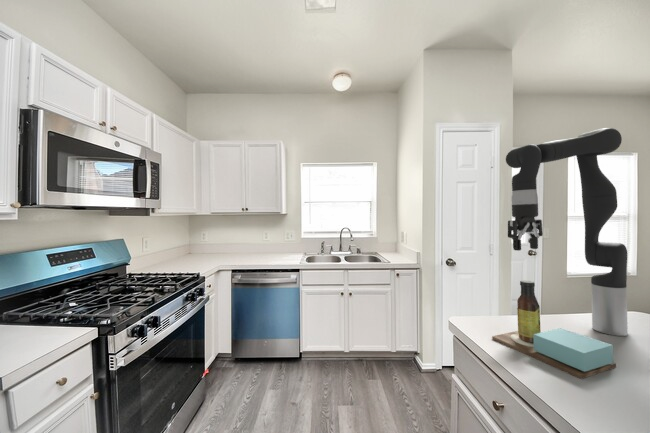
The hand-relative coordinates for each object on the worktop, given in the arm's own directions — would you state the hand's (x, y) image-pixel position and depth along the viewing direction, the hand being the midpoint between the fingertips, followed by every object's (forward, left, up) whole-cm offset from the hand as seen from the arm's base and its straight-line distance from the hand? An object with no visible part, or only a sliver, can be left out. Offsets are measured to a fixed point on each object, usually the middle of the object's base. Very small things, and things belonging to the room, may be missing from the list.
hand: (525, 249), depth 96 cm
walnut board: (+2, +8, -32) cm, 33 cm away
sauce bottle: (+2, +2, -31) cm, 31 cm away
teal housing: (+2, +14, -30) cm, 34 cm away
